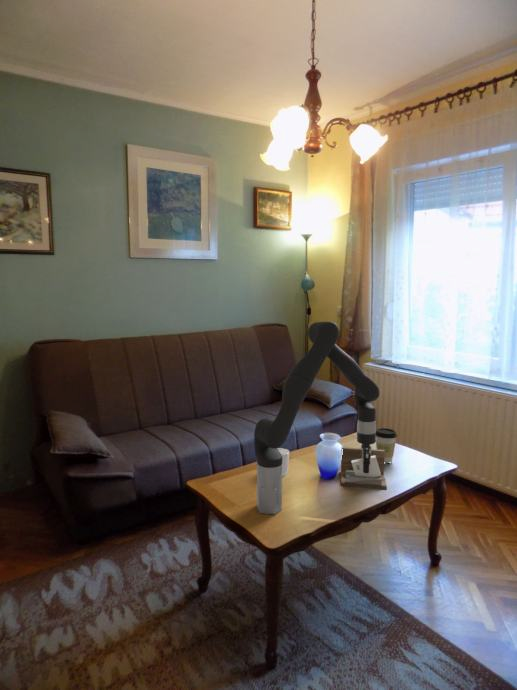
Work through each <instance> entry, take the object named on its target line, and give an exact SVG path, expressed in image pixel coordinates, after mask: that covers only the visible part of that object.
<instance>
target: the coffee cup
mask: <svg viewBox="0 0 517 690" xmlns="http://www.w3.org/2000/svg"><path fill="white" fill-rule="evenodd" d="M397 437H398V434H397V433H396V430H394V429H392V428H388V427H387V428H385V427H380V428H376V442H375V446H376V447H375V448H376V449H377V450H385V455H384V462H385V463H389V462H392V461H393V457H394V454H395V449H396V447H395V446H396V438H397Z"/></svg>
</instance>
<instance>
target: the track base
mask: <svg viewBox="0 0 517 690" xmlns="http://www.w3.org/2000/svg"><path fill="white" fill-rule="evenodd" d="M342 449H343V455H342V460H341V459H340V486H341V487H342V486H343V487H344V486H345V487H346V486H347V487H358V488H368V489H381V490H387V489H388V486H387V481H386V477H385V472H384V470H385V464H384V455H385V450H377V448H376V449H373V448H371V456H374V455H375V456H376V459H377V462H378V466H379V469H380V473H381V476H378V477H364V476H355V472H354V469H353V466H352V462H351V461H352V460H356V459H361V458H362V451H361V447H360V448H359V447H346V446H341V450H342Z"/></svg>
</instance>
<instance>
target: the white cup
mask: <svg viewBox="0 0 517 690" xmlns="http://www.w3.org/2000/svg"><path fill="white" fill-rule="evenodd" d="M277 449H278V451H279V452H280V454H281V455H282V477H286V476H287V475H288V474H289V465H290V450H289V449H287V448H282V447H279V448H277Z"/></svg>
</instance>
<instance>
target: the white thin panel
mask: <svg viewBox="0 0 517 690" xmlns="http://www.w3.org/2000/svg"><path fill="white" fill-rule="evenodd" d="M351 462H352V466H353V469H354V472H355V476H364V477H378V476H381V473H380V469H379V466H378V462H377V459H376V456H375V455H374V456H371V459H370V465H369V473H364V472H363V458H361V459H356V460H352V461H351Z"/></svg>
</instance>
